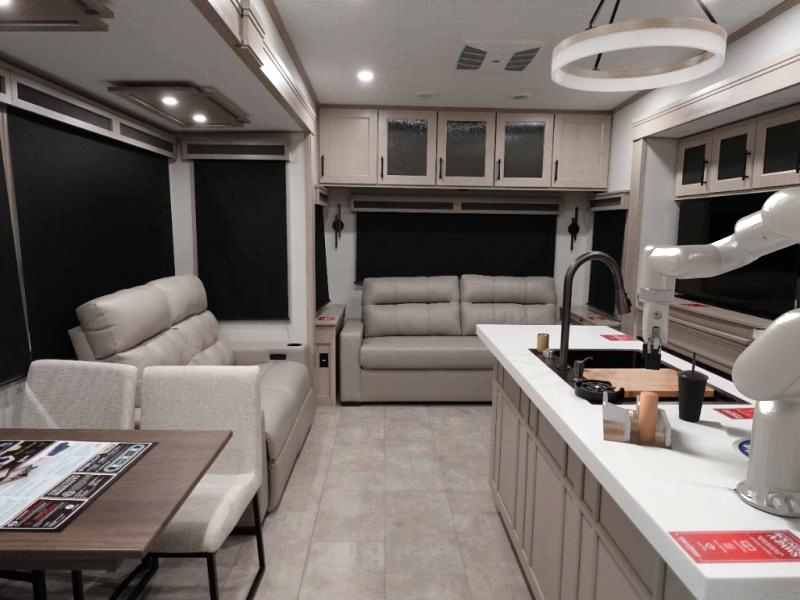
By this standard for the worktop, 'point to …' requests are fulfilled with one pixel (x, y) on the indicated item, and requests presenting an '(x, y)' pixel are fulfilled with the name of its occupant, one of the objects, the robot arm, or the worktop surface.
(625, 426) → the bent rails
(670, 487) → the worktop surface
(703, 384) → the drinking cup
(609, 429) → the channel board
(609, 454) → the worktop surface
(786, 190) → the robot arm
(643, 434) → the peg
